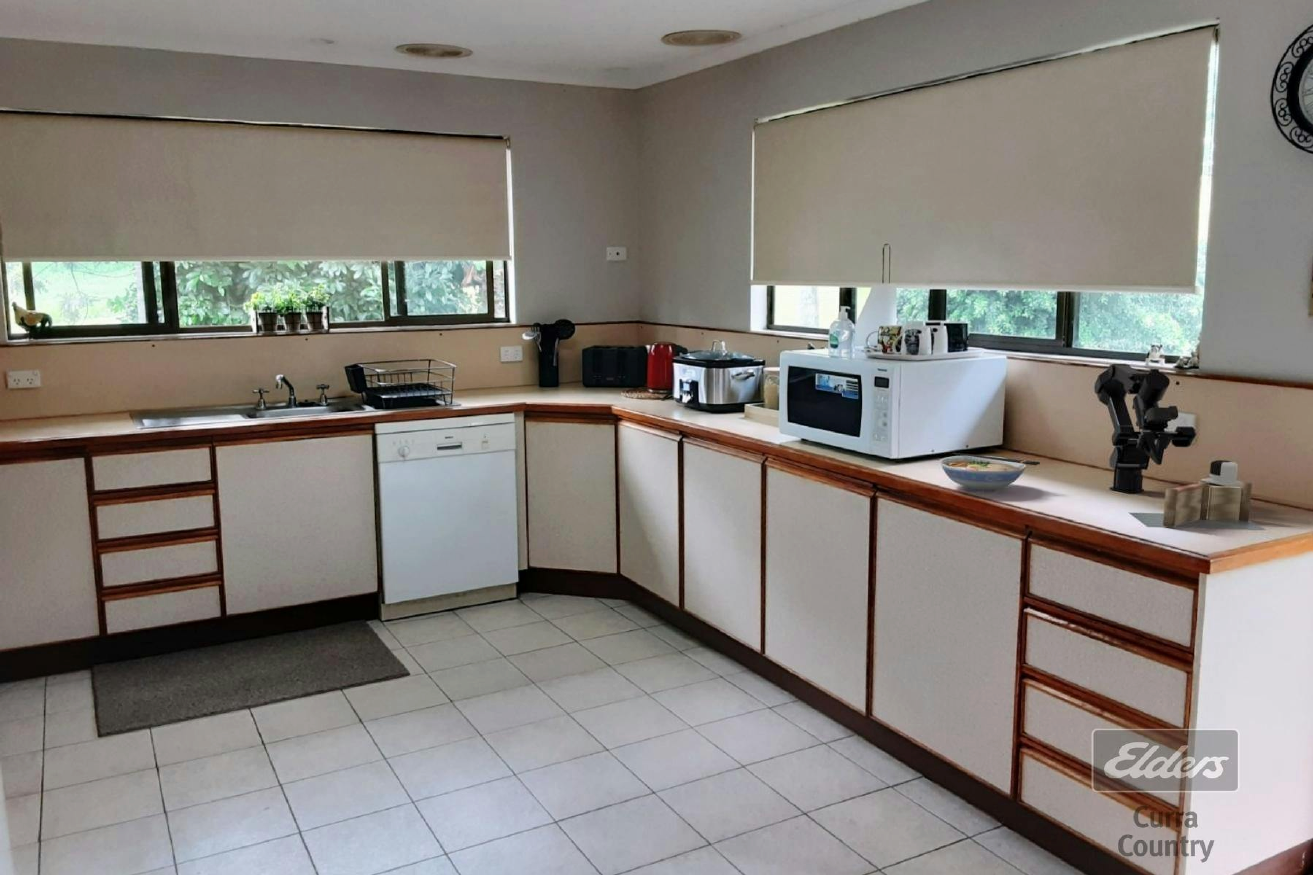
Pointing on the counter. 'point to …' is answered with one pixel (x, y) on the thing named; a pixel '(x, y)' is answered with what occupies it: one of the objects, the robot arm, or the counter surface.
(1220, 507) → the fence fixed
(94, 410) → the counter surface
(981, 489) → the ramen bowl
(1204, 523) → the card
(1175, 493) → the fence gate
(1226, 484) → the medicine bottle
